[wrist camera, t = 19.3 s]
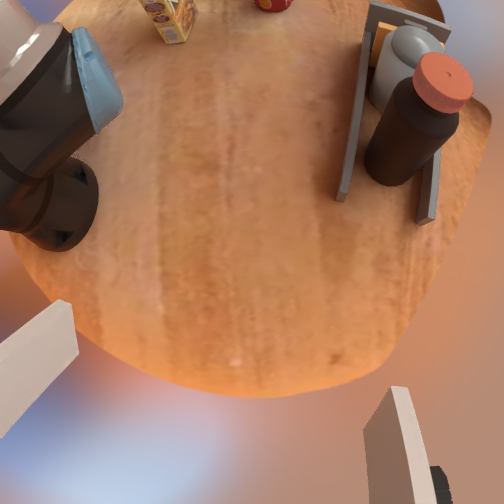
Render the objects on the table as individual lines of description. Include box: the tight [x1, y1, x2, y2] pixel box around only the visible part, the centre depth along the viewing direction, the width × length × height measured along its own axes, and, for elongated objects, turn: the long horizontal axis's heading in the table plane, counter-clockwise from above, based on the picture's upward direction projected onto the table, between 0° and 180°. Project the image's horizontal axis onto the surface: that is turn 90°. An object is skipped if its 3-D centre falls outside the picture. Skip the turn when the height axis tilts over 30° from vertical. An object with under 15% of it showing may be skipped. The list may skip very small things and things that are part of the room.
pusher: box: [368, 20, 444, 68], centre depth 32 cm, size 9×1×11 cm, turn 75°
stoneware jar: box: [369, 25, 445, 114], centre depth 31 cm, size 8×8×13 cm
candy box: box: [139, 0, 198, 44], centre depth 36 cm, size 9×4×15 cm, turn 171°
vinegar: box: [364, 52, 473, 186], centre depth 27 cm, size 7×7×20 cm
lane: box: [335, 0, 451, 225], centre depth 32 cm, size 12×28×10 cm, turn 165°
